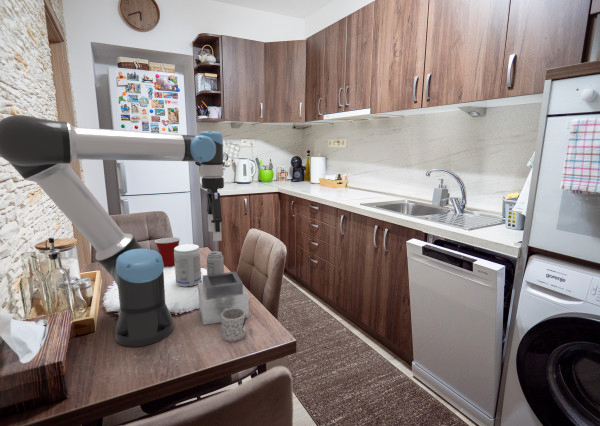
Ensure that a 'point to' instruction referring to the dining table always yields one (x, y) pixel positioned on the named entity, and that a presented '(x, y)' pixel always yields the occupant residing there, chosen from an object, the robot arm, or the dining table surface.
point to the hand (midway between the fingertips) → (214, 235)
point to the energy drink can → (215, 263)
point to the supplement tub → (187, 265)
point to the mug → (233, 324)
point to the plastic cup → (167, 249)
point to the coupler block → (221, 296)
